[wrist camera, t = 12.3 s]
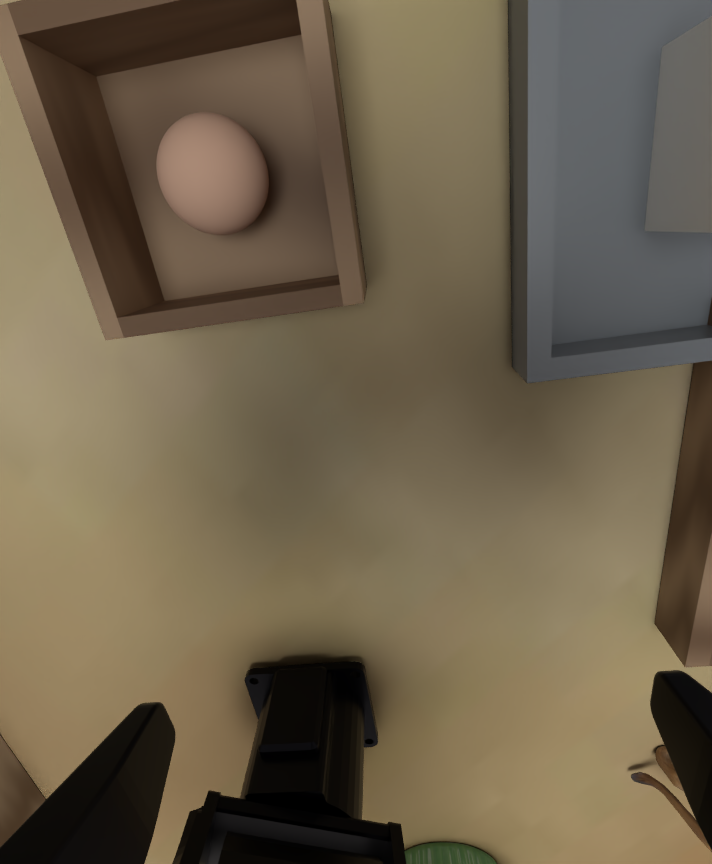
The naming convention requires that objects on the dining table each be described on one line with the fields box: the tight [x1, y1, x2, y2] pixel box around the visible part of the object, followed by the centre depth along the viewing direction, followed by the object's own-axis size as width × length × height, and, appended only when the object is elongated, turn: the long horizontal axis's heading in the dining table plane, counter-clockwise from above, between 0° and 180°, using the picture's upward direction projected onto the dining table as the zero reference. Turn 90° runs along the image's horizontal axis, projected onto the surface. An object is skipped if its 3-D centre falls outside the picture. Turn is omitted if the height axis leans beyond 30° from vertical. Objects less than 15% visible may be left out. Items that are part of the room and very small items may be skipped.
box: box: [0, 0, 367, 340], centre depth 14 cm, size 8×8×4 cm
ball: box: [156, 112, 269, 235], centre depth 14 cm, size 3×3×3 cm
